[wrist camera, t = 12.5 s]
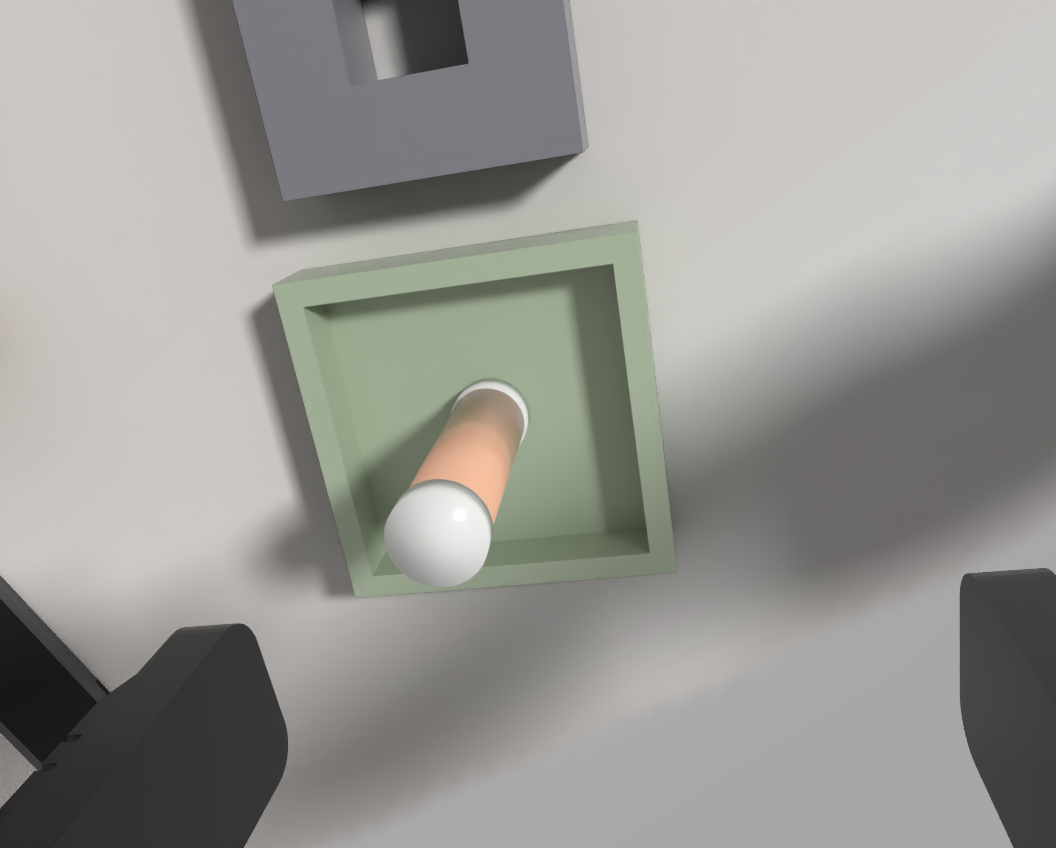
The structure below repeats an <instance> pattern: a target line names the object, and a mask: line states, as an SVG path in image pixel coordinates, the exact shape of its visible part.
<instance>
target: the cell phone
mask: <svg viewBox="0 0 1056 848" xmlns="http://www.w3.org/2000/svg"><path fill="white" fill-rule="evenodd" d="M109 693H110V692H109V691H108V690H107V689H106V688H105V687H104V686H103V685H102V684H101V683H100V682H99V681H98V679H97V678H96V677H95V676H94V675H93V674H92V673H91V672H90V671H89V670H88V669H87V668H86V667H85V666H84V664H83V663H82V662H81V661H80V660H79V659H78V658H77V657H76V656H75V655H74V654H73V653H72V652H71V651H70V650H69V648H68V647H67V646H66V645H65V644H64V643H63V642H62V641H61V640H60V639H59V638H58V637H57V636H56V635H55V633H54V632H53V631H52V630H51V629H50V628H49V627H48V626H47V625H46V624H45V623H44V622H43V621H42V620H41V619H40V617H39V616H38V615H37V614H36V613H35V612H34V611H33V610H32V609H31V608H30V607H29V606H28V605H27V604H26V602H25V601H24V600H23V599H22V598H21V597H20V596H19V595H18V594H17V593H16V592H15V591H14V590H13V589H12V588H11V586H10V585H9V584H8V583H7V582H6V581H5V580H4V579H3V578H2V577H1V576H0V733H1V734H2V735H3V736H4V737H5V738H6V739H7V740H8V741H9V742H10V743H11V744H12V745H13V746H14V747H15V748H16V749H17V750H18V751H19V752H20V753H21V754H22V755H23V756H24V757H25V758H26V759H27V760H28V761H29V762H30V763H31V764H32V765H33V766H34V767H35V768H36V769H37V770H38V771H41V769H42V763H43V761H44V760H45V759H46V758H47V757H48V756H49V755H50V754H51V753H52V752H53V750H54V749H55V748H56V747H57V746H58V745H59V744H60V743H61V742H67V740H68V734H69V733H70V732H71V731H72V730H73V729H74V728H75V726H76V725H77V724H78V723H79V722H80V721H81V720H82V719H83V718H84V717H85V715H86V714H87V713H88V712H89V711H90V710H91V709H92V708H93V707H94V706H95V705H96V703H97V702H98V701H100V700H101V699H102V698H104V697H105V696H107V695H108V694H109Z"/></svg>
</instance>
